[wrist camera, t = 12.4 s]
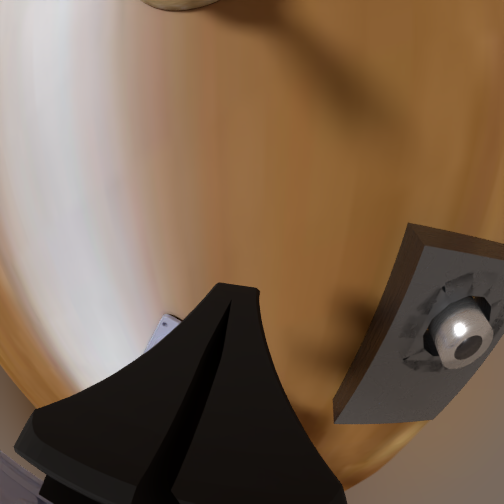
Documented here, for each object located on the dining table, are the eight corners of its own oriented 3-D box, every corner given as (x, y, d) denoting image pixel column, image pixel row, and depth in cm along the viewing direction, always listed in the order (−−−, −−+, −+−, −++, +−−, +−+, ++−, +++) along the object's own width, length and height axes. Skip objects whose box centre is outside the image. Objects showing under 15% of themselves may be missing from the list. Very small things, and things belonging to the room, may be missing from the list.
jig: (427, 398, 26) (433, 419, 24) (332, 399, 27) (333, 423, 24) (521, 248, 16) (540, 268, 13) (407, 222, 17) (424, 245, 14)
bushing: (438, 331, 21) (456, 375, 17) (412, 310, 20) (431, 357, 16) (475, 298, 19) (500, 338, 14) (452, 271, 18) (481, 314, 14)
